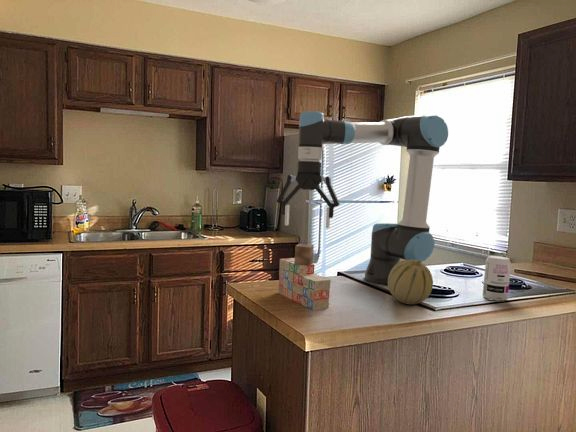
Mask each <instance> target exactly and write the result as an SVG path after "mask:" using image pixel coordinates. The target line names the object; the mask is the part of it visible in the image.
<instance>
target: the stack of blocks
mask: <svg viewBox="0 0 576 432" xmlns="http://www.w3.org/2000/svg"><path fill="white" fill-rule="evenodd" d="M294 262H295V257H289V258H288V257H287V258H279V270H278V276H279V277H278V278H279V279H278V294H280V295H282V296H284V297H285V298H287V299H289V300H291V301H294V302H295V303H297V304H300V305H302V306H304V307H306V308H307V309H309V310H312V311H316V310H323V309H324V310H325V309H328V308H329V304H330V303H329V301H330V289H331V279H330V278H327V277H324V276H323V275H320V274H317V273H315V264H314V263H312V264H311V265H310V266H305V265H296V264H294Z"/></svg>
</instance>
